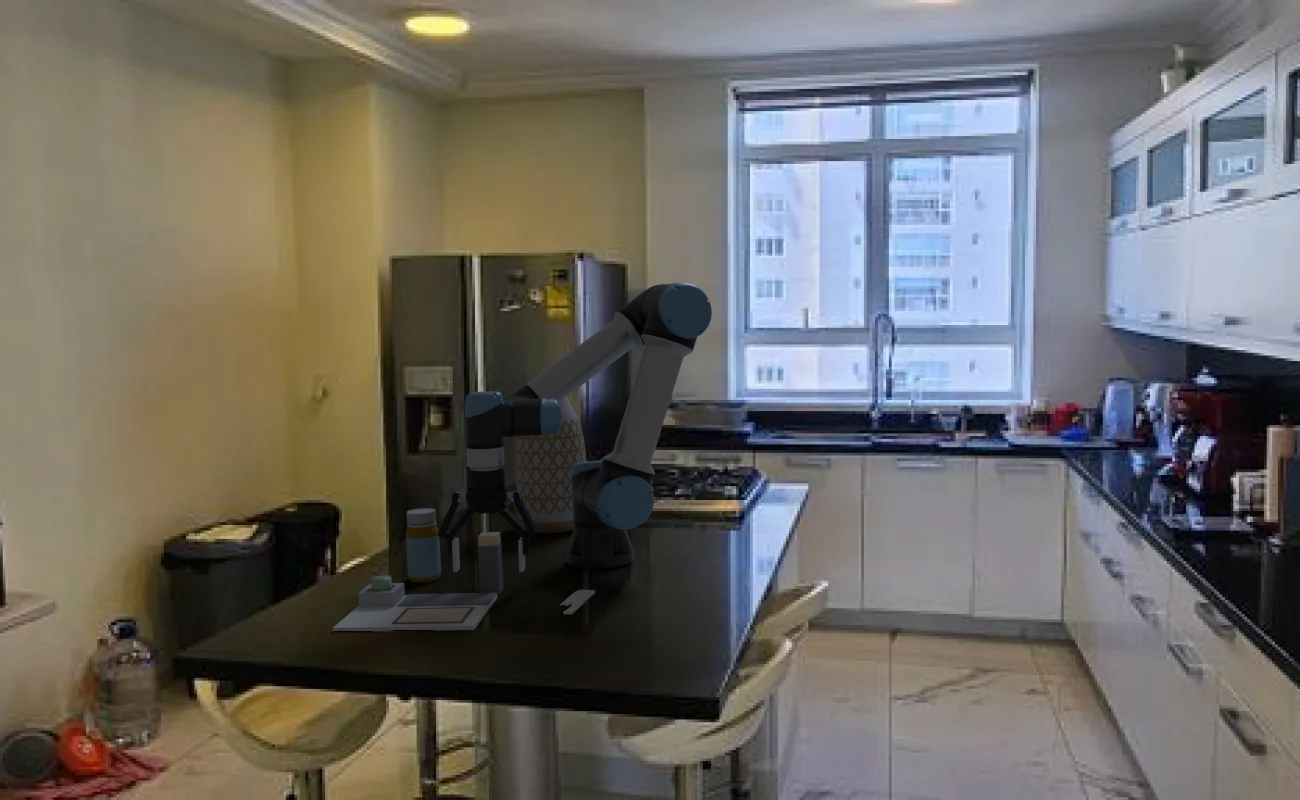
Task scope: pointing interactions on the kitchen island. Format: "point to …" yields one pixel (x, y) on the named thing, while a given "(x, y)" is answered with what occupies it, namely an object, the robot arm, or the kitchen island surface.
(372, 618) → the board
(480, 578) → the two-tone square rod
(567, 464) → the vase
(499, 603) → the kitchen island surface
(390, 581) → the button
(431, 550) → the bottle
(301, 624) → the kitchen island surface
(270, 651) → the kitchen island surface
